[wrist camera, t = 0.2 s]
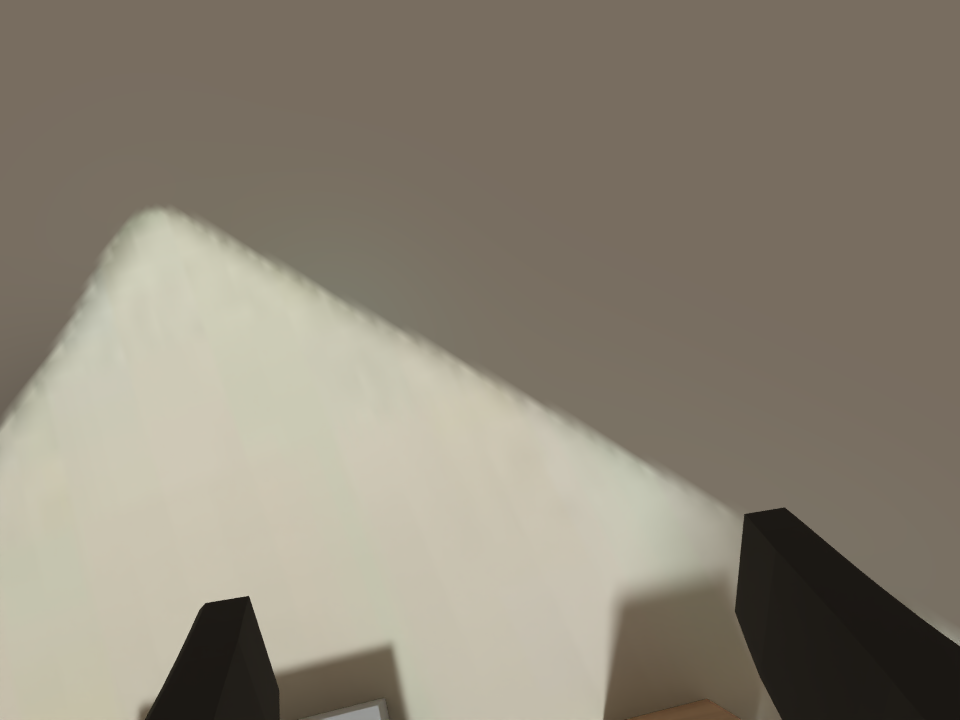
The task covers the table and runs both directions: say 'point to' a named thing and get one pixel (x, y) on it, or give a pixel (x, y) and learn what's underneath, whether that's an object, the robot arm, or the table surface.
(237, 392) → the table surface
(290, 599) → the table surface
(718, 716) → the walnut block
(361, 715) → the slate block
